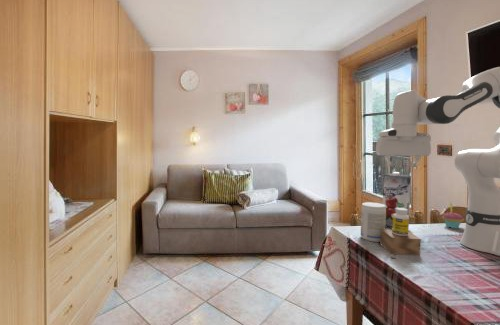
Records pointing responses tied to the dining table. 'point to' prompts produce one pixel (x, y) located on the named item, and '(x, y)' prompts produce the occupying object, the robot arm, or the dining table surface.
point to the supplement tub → (372, 221)
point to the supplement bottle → (400, 222)
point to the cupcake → (453, 219)
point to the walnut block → (400, 243)
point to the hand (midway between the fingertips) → (401, 166)
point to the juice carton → (396, 194)
